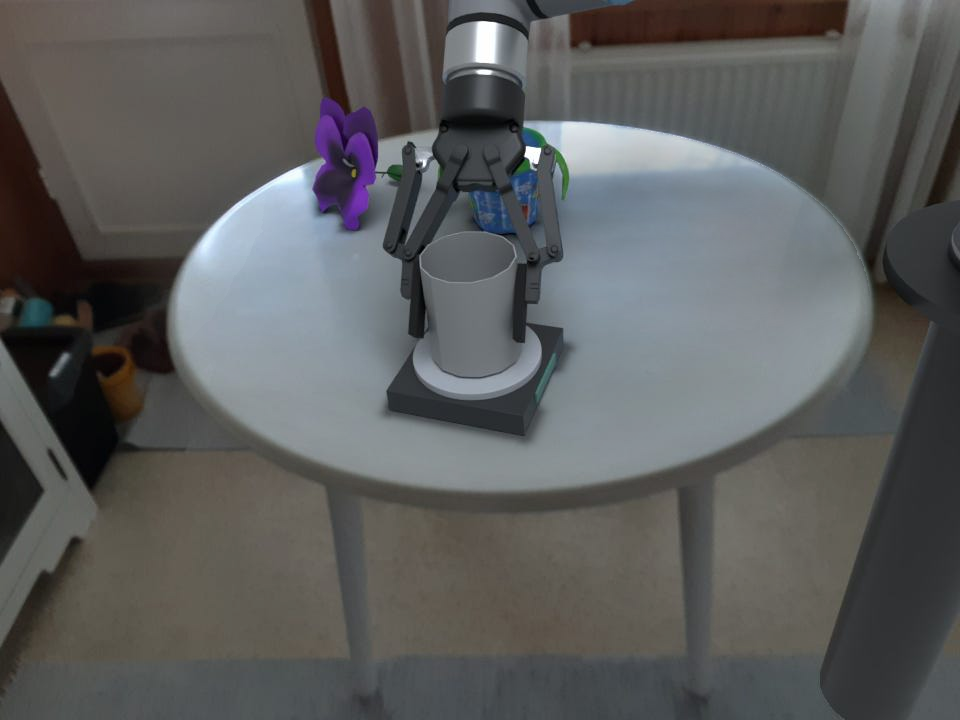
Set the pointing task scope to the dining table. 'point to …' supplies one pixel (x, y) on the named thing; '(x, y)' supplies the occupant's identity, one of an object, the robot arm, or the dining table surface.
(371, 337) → the dining table surface
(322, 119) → the flower
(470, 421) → the scale
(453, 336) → the cup
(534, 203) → the snack cup
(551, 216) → the robot arm
